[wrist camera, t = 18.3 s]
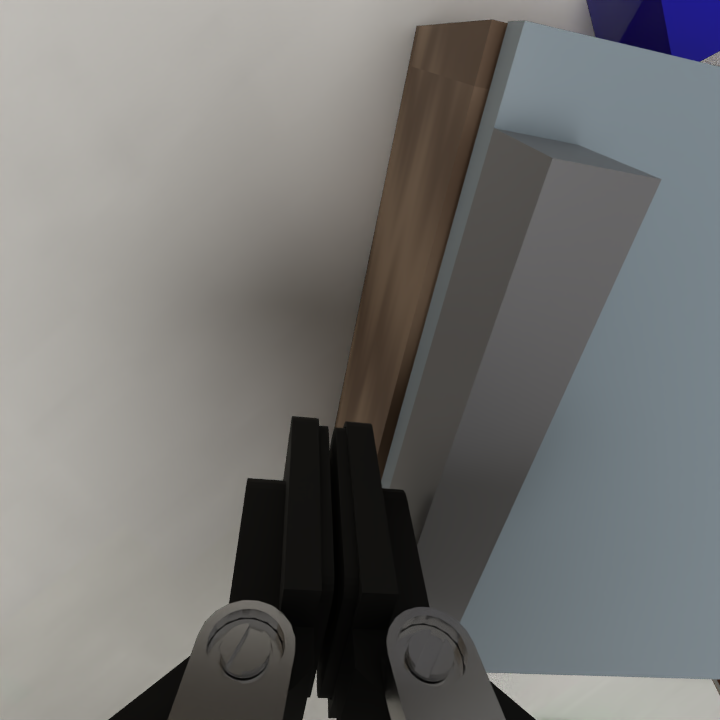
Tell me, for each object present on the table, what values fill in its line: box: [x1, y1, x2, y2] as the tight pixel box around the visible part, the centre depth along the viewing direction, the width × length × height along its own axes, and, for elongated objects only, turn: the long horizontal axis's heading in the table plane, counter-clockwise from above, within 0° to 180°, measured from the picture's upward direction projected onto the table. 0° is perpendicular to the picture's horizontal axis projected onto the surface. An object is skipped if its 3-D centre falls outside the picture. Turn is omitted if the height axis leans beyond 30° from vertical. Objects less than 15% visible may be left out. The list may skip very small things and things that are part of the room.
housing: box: [335, 20, 508, 480], centre depth 17 cm, size 17×14×8 cm
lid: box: [381, 21, 720, 679], centre depth 13 cm, size 17×14×3 cm
